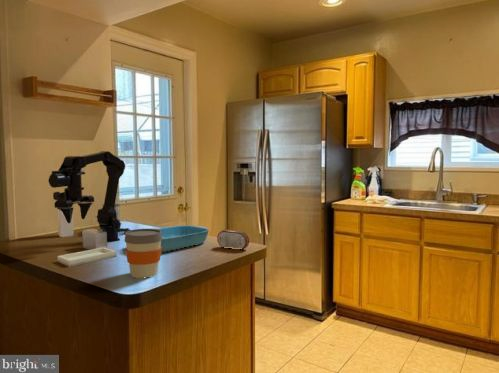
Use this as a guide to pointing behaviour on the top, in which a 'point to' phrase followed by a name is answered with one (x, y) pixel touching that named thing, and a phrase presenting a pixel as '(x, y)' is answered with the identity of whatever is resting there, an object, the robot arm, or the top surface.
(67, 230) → the milk
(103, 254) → the tray
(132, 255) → the reusable coffee cup
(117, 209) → the milk frother
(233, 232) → the portable speaker
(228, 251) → the top surface
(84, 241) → the white rectangular block
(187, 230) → the casserole dish
